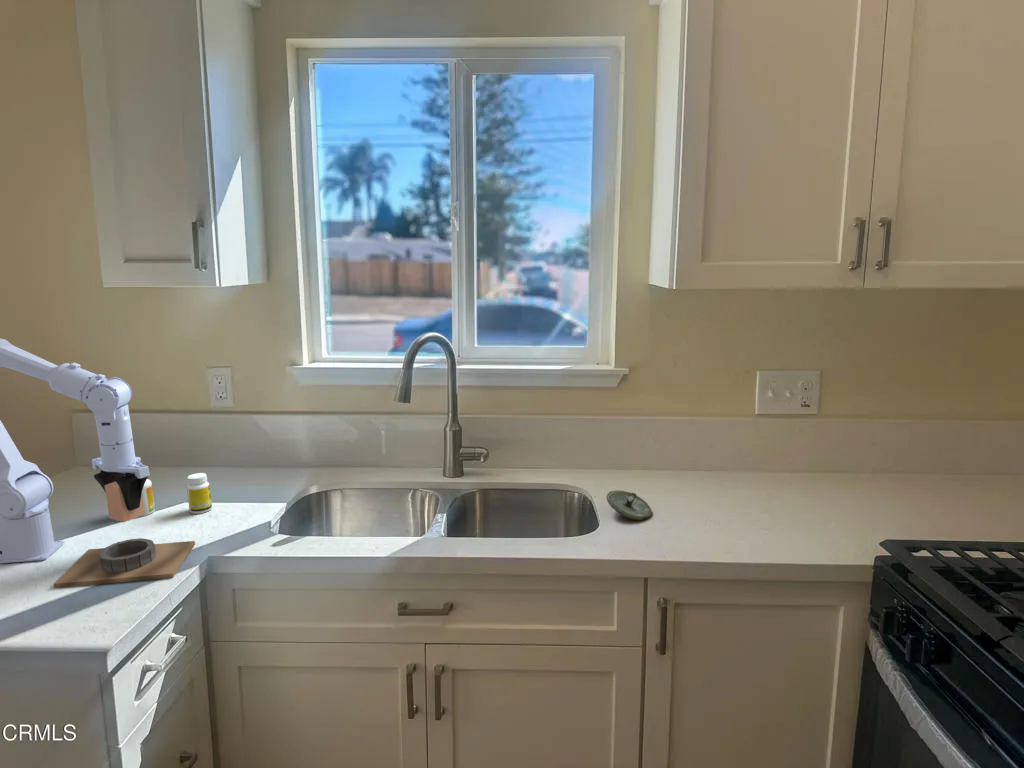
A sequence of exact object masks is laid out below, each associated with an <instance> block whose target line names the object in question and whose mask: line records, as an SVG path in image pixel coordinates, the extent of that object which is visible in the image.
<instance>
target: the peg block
mask: <svg viewBox="0 0 1024 768" xmlns="http://www.w3.org/2000/svg"><path fill="white" fill-rule="evenodd" d="M105 492H106V493H105ZM104 493H105V499H106V504H107V509H108V517H109V518H108V519H110V520H114V521H117V522H121V523H125V522H129V521H130V520H133V519H136V518H140V517H139V516H141V515H144V514H145V513H144V506H143V499H142V494H141V501H140V507H139V508H137V509H134V510H131V511H129V510H128V509H127V507H126V504H125V500H124V496H123V493H122V491H121V489H120V487H119V485H118V484H117V483H116V482H113V483H110V484H107V485H105V491H104Z"/></svg>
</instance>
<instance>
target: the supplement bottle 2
mask: <svg viewBox="0 0 1024 768" xmlns="http://www.w3.org/2000/svg"><path fill="white" fill-rule="evenodd" d="M186 480H187V485H186V492H187V500H188V510H189V513H191V514H192V515H198V514H199V515H200V514H204V513H207V512H210V511H211V510H213V505H212V504H213V503H212V495H211V488H210V485H211V484H210V483H209V482H208V477H207V474H206V473H205V472H197V473H192V474H190V475H187V479H186Z"/></svg>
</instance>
